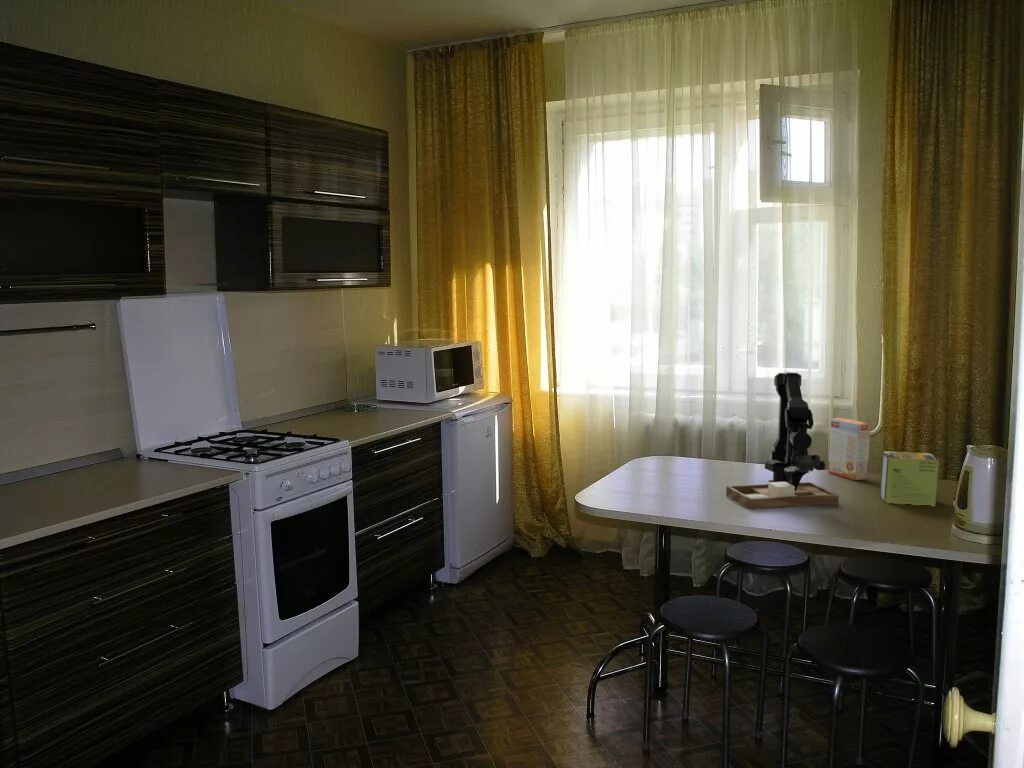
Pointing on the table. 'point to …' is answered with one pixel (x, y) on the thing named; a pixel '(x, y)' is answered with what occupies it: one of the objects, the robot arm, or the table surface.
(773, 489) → the cream block
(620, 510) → the table surface
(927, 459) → the protein box
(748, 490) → the tray
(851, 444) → the cracker box
